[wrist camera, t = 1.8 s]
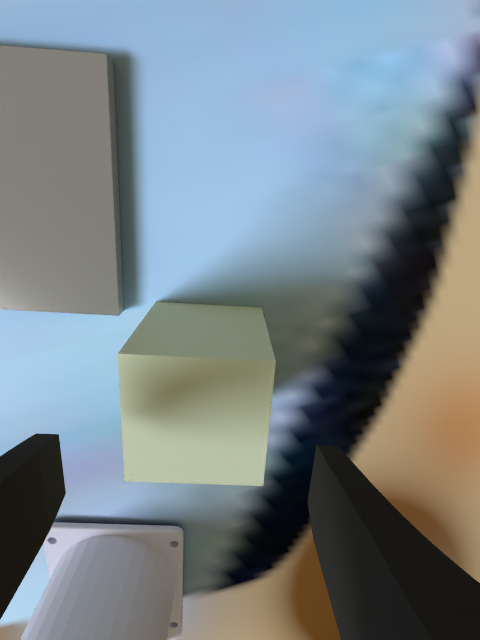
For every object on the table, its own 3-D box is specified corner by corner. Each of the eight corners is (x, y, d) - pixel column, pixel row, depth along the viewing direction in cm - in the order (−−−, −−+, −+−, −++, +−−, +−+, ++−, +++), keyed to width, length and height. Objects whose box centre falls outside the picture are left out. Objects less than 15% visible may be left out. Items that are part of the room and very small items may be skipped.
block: (253, 398, 19) (263, 486, 13) (157, 394, 19) (124, 481, 13) (261, 307, 17) (275, 361, 11) (156, 301, 17) (118, 353, 11)
